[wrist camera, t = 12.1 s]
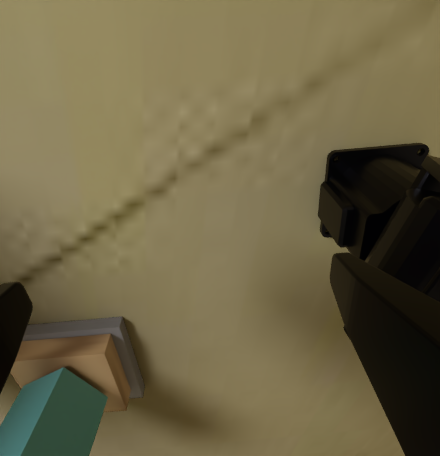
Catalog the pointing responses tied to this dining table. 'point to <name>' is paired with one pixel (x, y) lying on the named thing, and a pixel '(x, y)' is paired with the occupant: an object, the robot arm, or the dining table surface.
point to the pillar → (53, 417)
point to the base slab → (96, 327)
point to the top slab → (76, 365)
